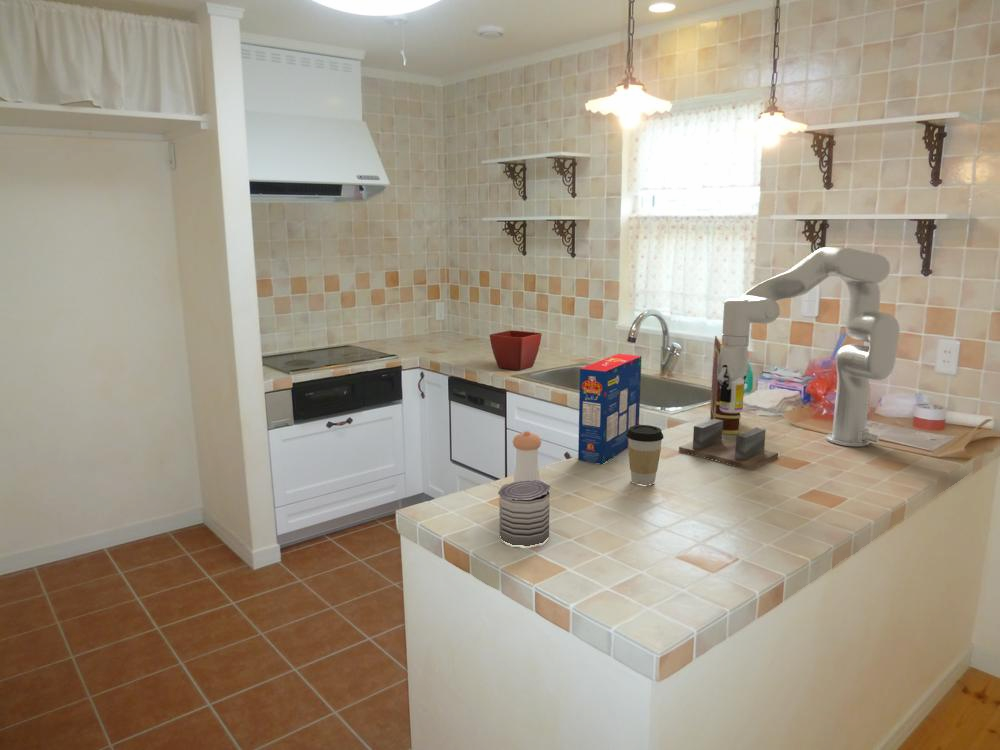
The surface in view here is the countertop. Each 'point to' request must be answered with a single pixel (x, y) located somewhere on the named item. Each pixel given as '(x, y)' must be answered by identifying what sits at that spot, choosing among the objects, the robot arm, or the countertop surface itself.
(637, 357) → the blue cereal box
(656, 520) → the countertop surface
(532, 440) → the pepper shaker
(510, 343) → the plant pot
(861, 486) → the countertop surface
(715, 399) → the decorative book
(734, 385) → the supplement bottle
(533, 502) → the can
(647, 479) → the coffee cup
